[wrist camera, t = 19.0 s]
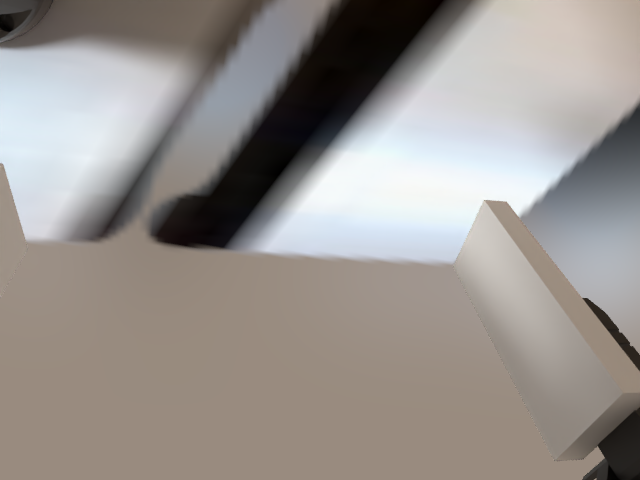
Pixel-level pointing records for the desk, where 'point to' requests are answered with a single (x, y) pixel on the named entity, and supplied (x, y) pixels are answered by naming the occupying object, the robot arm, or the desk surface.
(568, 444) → the robot arm
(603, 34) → the desk surface
